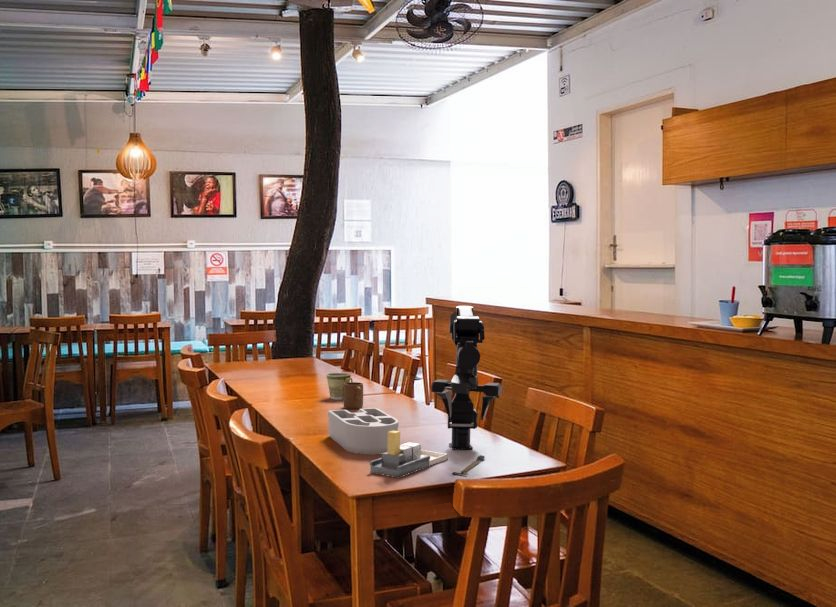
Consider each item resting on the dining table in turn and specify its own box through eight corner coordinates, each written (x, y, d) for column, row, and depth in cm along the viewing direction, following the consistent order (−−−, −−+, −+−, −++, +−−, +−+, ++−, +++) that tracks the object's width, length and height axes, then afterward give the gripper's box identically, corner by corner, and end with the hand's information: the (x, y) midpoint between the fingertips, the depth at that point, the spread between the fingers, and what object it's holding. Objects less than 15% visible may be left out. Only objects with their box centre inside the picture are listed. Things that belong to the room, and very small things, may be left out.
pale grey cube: (399, 459, 218) (400, 445, 218) (411, 461, 216) (412, 447, 216) (391, 462, 215) (391, 447, 214) (403, 464, 212) (403, 449, 212)
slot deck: (401, 461, 224) (401, 450, 223) (429, 466, 218) (430, 455, 218) (369, 472, 211) (369, 461, 211) (399, 478, 206) (399, 467, 206)
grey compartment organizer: (376, 433, 261) (376, 407, 260) (405, 453, 235) (406, 424, 234) (327, 437, 255) (327, 410, 254) (352, 457, 229) (352, 427, 228)
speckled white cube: (408, 456, 222) (409, 442, 221) (420, 458, 219) (421, 444, 219) (400, 459, 218) (401, 444, 218) (412, 461, 216) (413, 446, 216)
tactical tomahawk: (474, 482, 208) (475, 478, 207) (451, 476, 210) (451, 472, 210) (499, 462, 227) (500, 459, 227) (478, 458, 229) (478, 454, 229)
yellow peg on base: (388, 462, 215) (388, 429, 214) (405, 465, 212) (405, 432, 211) (381, 464, 212) (382, 431, 212) (398, 467, 209) (399, 434, 209)
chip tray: (421, 454, 232) (421, 449, 232) (447, 459, 227) (447, 454, 227) (402, 461, 224) (402, 456, 223) (429, 466, 219) (429, 461, 219)
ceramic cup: (321, 398, 326) (321, 374, 325) (338, 395, 333) (339, 372, 333) (343, 402, 317) (343, 377, 317) (360, 399, 325) (360, 375, 324)
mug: (369, 410, 300) (369, 386, 299) (350, 411, 297) (350, 387, 296) (359, 405, 311) (359, 381, 310) (340, 406, 308) (341, 382, 308)
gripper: (425, 364, 210) (424, 422, 211) (494, 368, 205) (493, 427, 206) (437, 359, 221) (436, 414, 222) (502, 362, 215) (501, 419, 216)
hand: (465, 418), depth 216 cm, fingers open, 9 cm apart
